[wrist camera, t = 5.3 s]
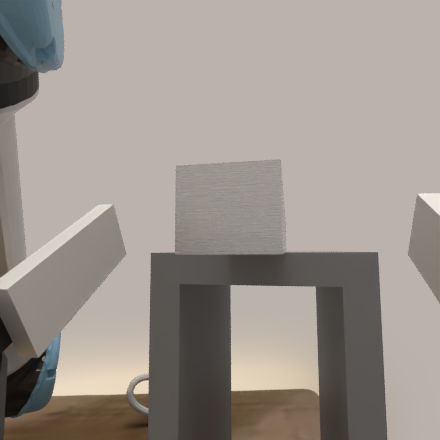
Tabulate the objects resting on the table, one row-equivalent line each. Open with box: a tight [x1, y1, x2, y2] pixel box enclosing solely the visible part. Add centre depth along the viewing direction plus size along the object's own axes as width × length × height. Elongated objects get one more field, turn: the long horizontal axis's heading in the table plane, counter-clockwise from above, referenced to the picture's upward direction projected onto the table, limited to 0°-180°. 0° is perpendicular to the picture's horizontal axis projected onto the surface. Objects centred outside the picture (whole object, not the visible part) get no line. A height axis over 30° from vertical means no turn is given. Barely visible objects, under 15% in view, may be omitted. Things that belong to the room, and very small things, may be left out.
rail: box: [175, 160, 286, 255], centre depth 23 cm, size 26×4×3 cm, turn 168°
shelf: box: [148, 252, 387, 440], centre depth 28 cm, size 19×14×30 cm
